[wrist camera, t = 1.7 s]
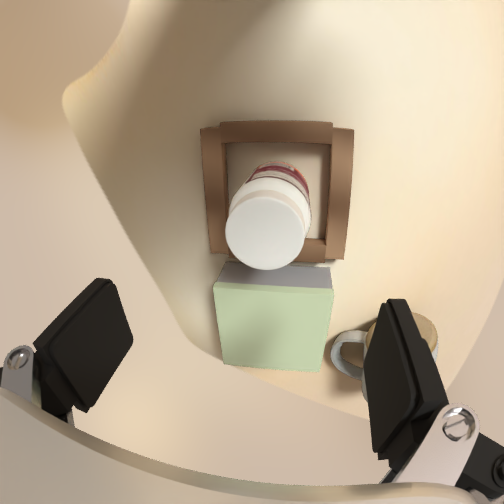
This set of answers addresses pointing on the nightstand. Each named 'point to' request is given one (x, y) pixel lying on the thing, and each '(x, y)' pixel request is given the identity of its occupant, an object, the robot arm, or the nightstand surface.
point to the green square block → (273, 316)
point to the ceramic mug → (363, 337)
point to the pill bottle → (269, 217)
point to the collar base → (280, 132)
